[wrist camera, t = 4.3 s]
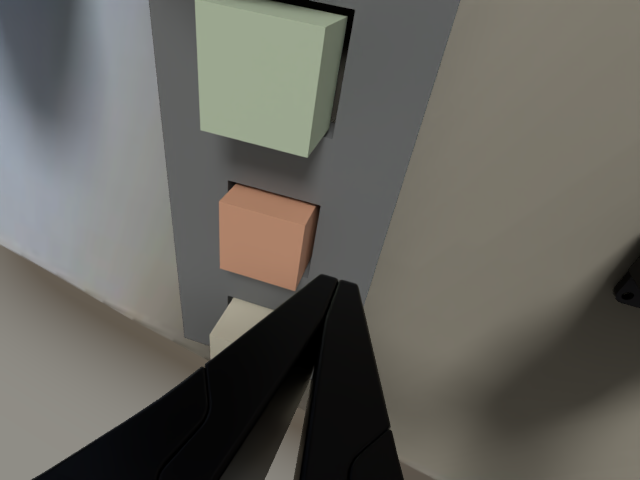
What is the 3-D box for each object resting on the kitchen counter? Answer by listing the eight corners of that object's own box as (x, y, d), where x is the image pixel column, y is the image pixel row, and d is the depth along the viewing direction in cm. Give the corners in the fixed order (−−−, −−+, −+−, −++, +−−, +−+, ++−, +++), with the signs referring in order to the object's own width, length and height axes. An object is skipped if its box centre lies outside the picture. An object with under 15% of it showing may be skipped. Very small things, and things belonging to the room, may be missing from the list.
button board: (459, -7, 14) (461, -4, 13) (343, 365, 29) (337, 388, 27) (172, -63, 16) (141, -66, 14) (198, 318, 30) (184, 337, 29)
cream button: (297, 315, 25) (279, 357, 22) (290, 356, 27) (274, 398, 25) (234, 295, 25) (209, 334, 23) (233, 337, 28) (211, 377, 25)
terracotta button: (323, 192, 21) (305, 225, 18) (312, 254, 23) (295, 291, 21) (247, 171, 21) (218, 201, 19) (245, 234, 24) (220, 268, 21)
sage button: (347, 16, 14) (325, 27, 12) (329, 128, 17) (307, 157, 14) (239, -7, 15) (194, -1, 12) (237, 105, 18) (200, 130, 15)
